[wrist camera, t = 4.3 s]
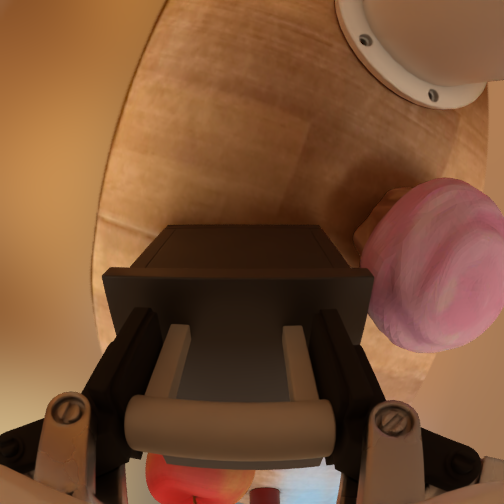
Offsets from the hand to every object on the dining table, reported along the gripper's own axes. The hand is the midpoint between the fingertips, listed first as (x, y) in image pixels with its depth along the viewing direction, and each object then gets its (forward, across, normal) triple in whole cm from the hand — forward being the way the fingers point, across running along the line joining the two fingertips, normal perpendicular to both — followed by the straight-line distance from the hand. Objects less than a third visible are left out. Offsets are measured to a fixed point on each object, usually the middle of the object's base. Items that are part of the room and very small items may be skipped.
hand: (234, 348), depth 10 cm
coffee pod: (+10, -2, +39) cm, 40 cm away
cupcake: (+10, -10, -1) cm, 14 cm away
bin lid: (+2, 0, +4) cm, 5 cm away
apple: (+10, +4, +18) cm, 21 cm away
